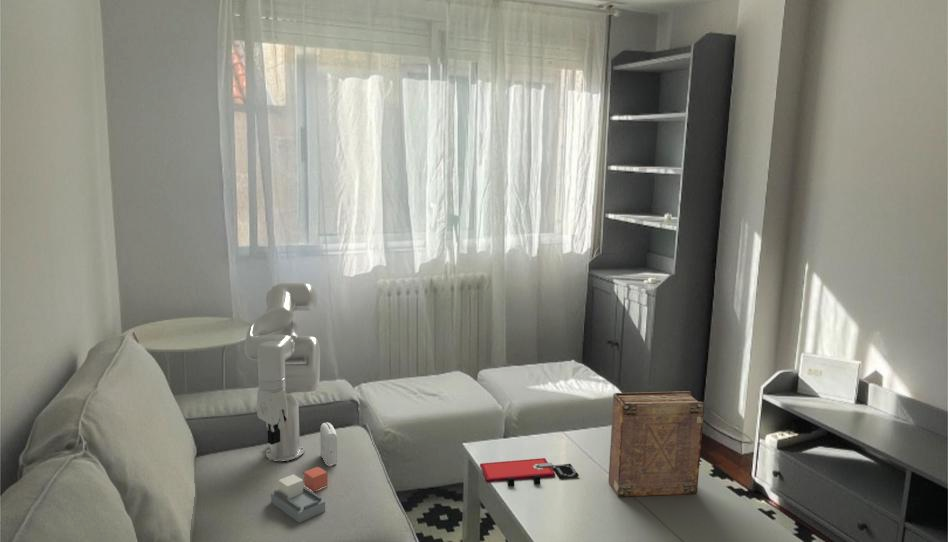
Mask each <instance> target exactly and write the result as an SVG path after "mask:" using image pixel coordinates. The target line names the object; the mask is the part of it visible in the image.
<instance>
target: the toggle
mask: <svg viewBox="0 0 948 542" xmlns="http://www.w3.org/2000/svg"><path fill="white" fill-rule="evenodd" d="M303 486H304V479H302V478H300V477H299V476H297V475H296V474H291V475H287V476H286V477H283V478H281V479H278V488H279V492H280V493H281V494H283V495H284V496H286V497H287V498H289V499H290V498H292V497H295V496H297V495H299V494H302V493H303Z"/></svg>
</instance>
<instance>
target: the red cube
mask: <svg viewBox="0 0 948 542" xmlns="http://www.w3.org/2000/svg"><path fill="white" fill-rule="evenodd" d="M304 485H305V486H306V487H308V488H309V489H311V490H312V491H313V492H314V491H316V490H318V489H320V488H322V487H325V486H327V487H328V472H327V471H326V470H324V469H322V468H321V467H319V466H315V467H313V468H311V469H308V470H306V471H304V472H303V486H304ZM314 493H315V492H314Z"/></svg>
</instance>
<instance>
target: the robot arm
mask: <svg viewBox="0 0 948 542" xmlns="http://www.w3.org/2000/svg"><path fill="white" fill-rule="evenodd" d="M265 302H266V310H265V312H264V313H263V314H262V315H260V316H258V317H257V318H256V319H254V320H253V322H251V324H249V327H248V328H247V332H246V336H245V341H244V354H245V356H246V358H247V359H248V360H251V361H257V371H258V372H257V375H258V377H257V378H258V390H257V399H256V409H257V410H256V412H257V414H256V415H257V417H258V419H259V420H261V421H263V422H265V424H266V425H265V426H266V430H267V443H268V444H269V445H270V447H269V448H268V449H267V450H266V452H265V456H266V459H267V458H268V459H267V460H269V459H271V460H277V461H282V460H290V459H294V458H297V457H299V456H300V455H302V454H303V453H304V454H305V447H304V446H303V444H300V417H299V416H300V414H299V412H300V411H299V402H298V400H297V399H296V397H295V396H294V395H293V394H295V393H297V394H299V393H311V392H313V393H314V392H315V391H316V390H317V389H318V388H319V386H320V385H319V384H320V373H321V372H320V370H321V369H320V368H321V361H320V360H321V349H320V348H321V346H320V342H319V340H318V339H317V338H316V337H315V336H313V335H299V328H300V327H299V324H298V322H297V321H296V320H295V319H294V312H310V311H314V310H315V309H316V307H317V304H318V294H317V291H316V289H315V287H314V286H313V285H312V284H311V283H307V282H287V283H286V282H285V283H283V282H282V283H277V284H275V285H274V286H272V287H271V289H270V290H269V291H268V292H266V298H265ZM304 454H303V455H304ZM303 455H302V456H303ZM299 458H300V457H299ZM297 459H298V458H297ZM271 460H270V461H271Z"/></svg>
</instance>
